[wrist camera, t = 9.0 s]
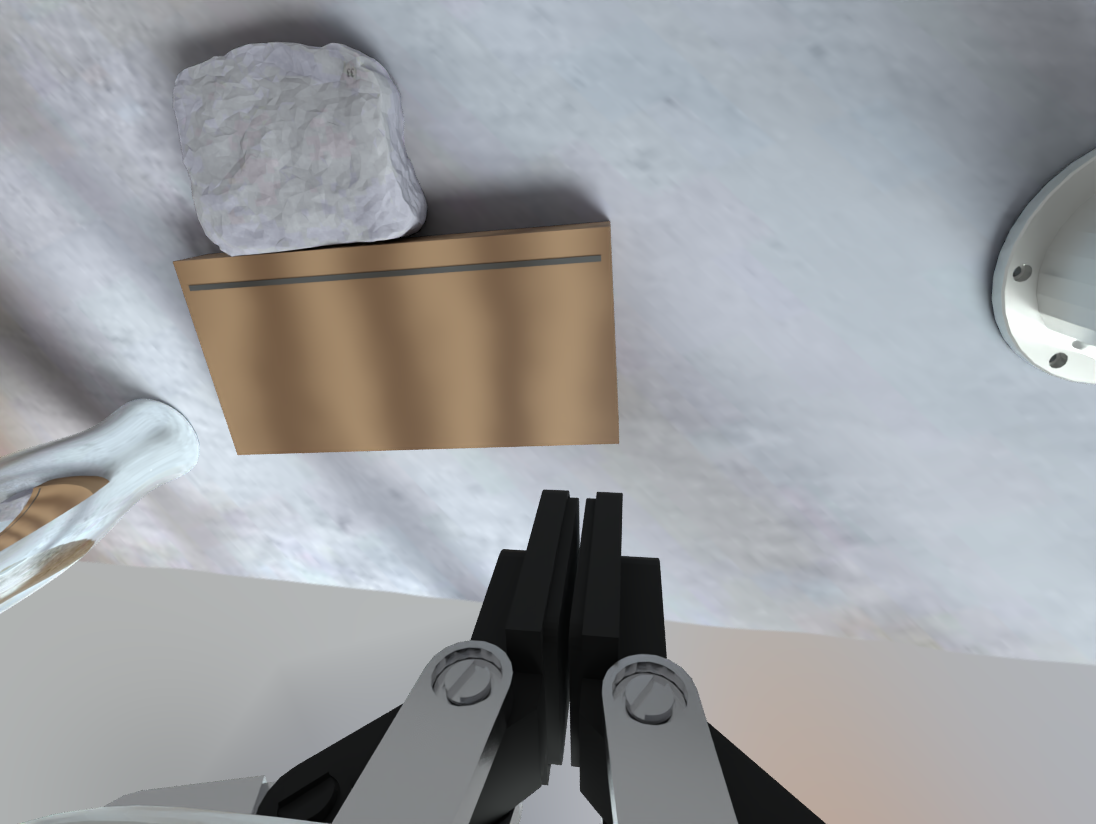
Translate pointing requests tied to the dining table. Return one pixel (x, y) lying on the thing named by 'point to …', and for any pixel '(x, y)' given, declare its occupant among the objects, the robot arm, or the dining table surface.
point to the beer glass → (83, 490)
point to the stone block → (296, 149)
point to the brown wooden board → (413, 341)
